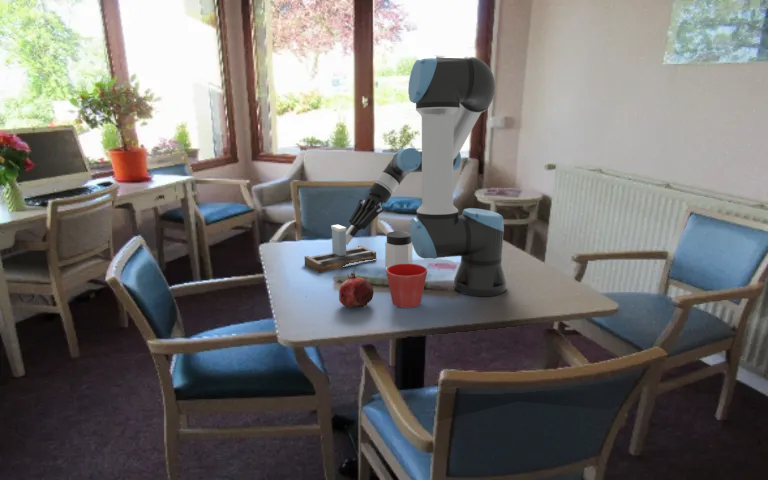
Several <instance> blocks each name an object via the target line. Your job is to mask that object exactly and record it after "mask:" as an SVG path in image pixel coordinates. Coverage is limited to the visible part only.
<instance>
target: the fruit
mask: <svg viewBox="0 0 768 480" xmlns="http://www.w3.org/2000/svg"><path fill="white" fill-rule="evenodd" d="M374 291H375V290H374V288H373V286H372V284H371V283H370V282H369V281H368V280H367V279H365V278H362V277H358V276H356V273H355V271H354V270H353V272H351V273H350V275H349V273H348V274H347V279H346V280H344V281H343V282H342V283H341V284H340V287H339V289H338V300H339V302H340V304H341V305H343V307H345V308H349V309H356V308H358V309H359V308H360V309H361V308H365V309H367V308H369V307H368V304H369V303H370V302H371V301H372V300H373V298H374Z"/></svg>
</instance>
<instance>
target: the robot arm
mask: <svg viewBox="0 0 768 480" xmlns="http://www.w3.org/2000/svg"><path fill="white" fill-rule="evenodd" d="M409 75H410V76H409V80H408V88H407V89H408V99H409V101H410V102H412V103H413V104H415V111H416V112H417V113H418V114H419V115H420V116H421V149H417V148H415V147H411V146H410V147H408V146H407V147H405V148H403V149H402V148H401V149H399V150H397V152H396V153H395V154H394V155H393V157H392V158H391V160H390V162H389V163H388V164H387V165H386V167H385V168H384V169H383V171H382V172H381V173H380V174H379V176H378V177H377V178H376V180H375V183H373V184H372V185H371V186H370V188H369V189H368V193H369V194H368V196H367V197H365V199H364V200H363V199H359V200H358V203H357V205H356V207H355V209H354V211H353V212H352V215H351V217H350V219H349V220H348V222H349V223H350V225H349V227H348V228H346V230H347V231H346V246H348V245H349V243H351V241H352V240H353V238H354V237H355V236H356V235H357V233H358V232H359V231H360V230H365V229H366V228H367V227H368V226H369V225H370V224H371V223H372V222H373V221H374V220H375V219H376V218H377V217H378V216H379V215H380V214H381V213H383V212H384V211H385V210H384V208H383V207H382V205H383V204H387V202H388V201H389V200H390V198H392V194H394V192H395V191H396V190H397V188H398V187H399V186H400V184H401V183H402V182H403V180H404V179H405V178H406V176H407V175H409V174H411V173H421V204H420V206H419V207H418V208H417V209H416V216H414V217H411V219H410V221H409V233H410V236H411V241H412V244H413V249H414V252H415V253H416V254H417V256H418V257H419V258H420V259H421V258H422V259H434V260H436V259H439V258H453V257H460V263H459V265H458V267H457V271H456V273H455V276H454V280H453V286H454V285H455V287H454V289H455V290H456V291H458V292H460V293H461V294H465V295H469V296H473V297H474V296H475V297H495V296H499V295H501V294H503V293H505V292H506V290H507V280H506V276H505V273H504V269H503V265H502V260H503V259H502V258H503V257H502V256H503V243H504V233H505V222H504V217H503V215H501V214H500V213H498V212H496V211H492V210H488V209H482V208H473V207H469V208H464V209H463V210H462V214H459V209H458V208H457V207H456V206H455V205H454V171H457V170H458V169H459V168H460V167H461V162H462V156H461V155H462V154H461V152H460V151H462V148H463V146H464V144H465V143H466V140H467V139H468V137H469V135H470V134H471V132H472V131H473V129H474V127H475V125H476V123H477V121H478V120H479V117H480V116H481V114H482V113H484V112H486V111H487V110H488V109H489V107H490V106H491V104H492V102H493V99H494V96H495V93H496V81H495V77H494V74H493V71H492V70H491V68H490V67H489V65H488V64H487V63H486V62H484V61H483V60H481V58H477V57H474V56H455V55H454V56H450V55H428V56H427V55H426V56H420V57H418V58H417V59H416V60H415V62H414V64H413V65H412V68H411V71H410V74H409Z"/></svg>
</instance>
